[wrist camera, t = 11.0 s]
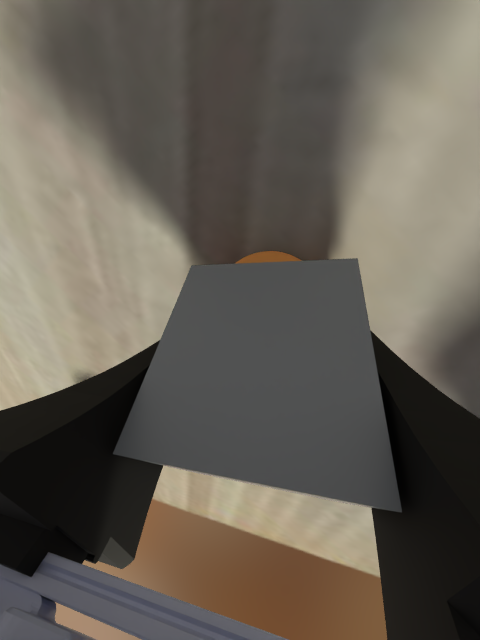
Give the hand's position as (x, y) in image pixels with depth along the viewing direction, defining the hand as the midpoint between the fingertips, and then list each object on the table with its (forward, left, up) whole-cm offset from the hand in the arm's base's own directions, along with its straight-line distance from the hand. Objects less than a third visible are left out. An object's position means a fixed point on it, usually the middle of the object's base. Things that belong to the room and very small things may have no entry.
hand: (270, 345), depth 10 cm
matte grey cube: (0, -1, -2) cm, 2 cm away
